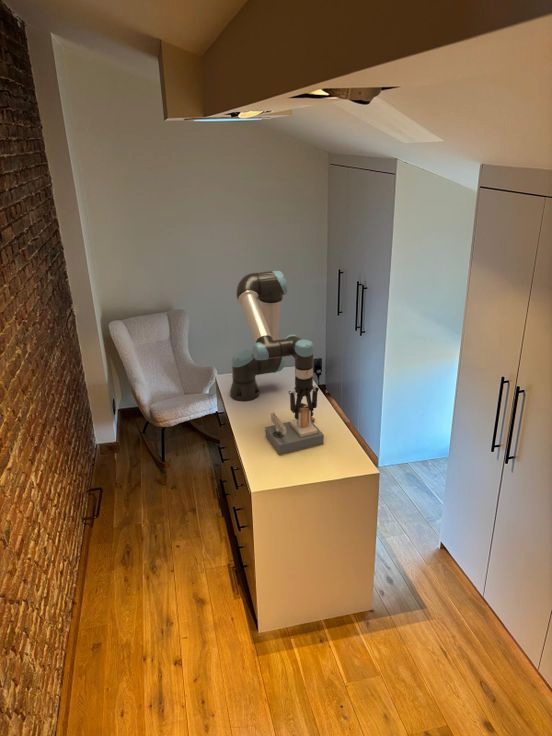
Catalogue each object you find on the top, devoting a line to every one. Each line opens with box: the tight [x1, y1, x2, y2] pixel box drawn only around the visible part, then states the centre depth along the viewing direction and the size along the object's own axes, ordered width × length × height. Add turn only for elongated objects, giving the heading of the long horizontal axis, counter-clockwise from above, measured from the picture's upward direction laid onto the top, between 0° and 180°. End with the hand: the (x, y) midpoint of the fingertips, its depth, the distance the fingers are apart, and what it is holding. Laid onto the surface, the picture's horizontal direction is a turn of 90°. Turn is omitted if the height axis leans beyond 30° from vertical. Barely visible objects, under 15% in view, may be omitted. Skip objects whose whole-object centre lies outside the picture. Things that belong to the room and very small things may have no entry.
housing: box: [264, 421, 325, 456], centre depth 241 cm, size 16×21×5 cm
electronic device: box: [300, 402, 316, 423], centre depth 257 cm, size 4×10×8 cm, turn 43°
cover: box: [289, 408, 318, 437], centre depth 239 cm, size 12×8×10 cm, turn 22°
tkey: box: [270, 412, 286, 435], centre depth 235 cm, size 2×14×6 cm, turn 22°
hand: (303, 423), depth 240 cm, fingers open, 4 cm apart
